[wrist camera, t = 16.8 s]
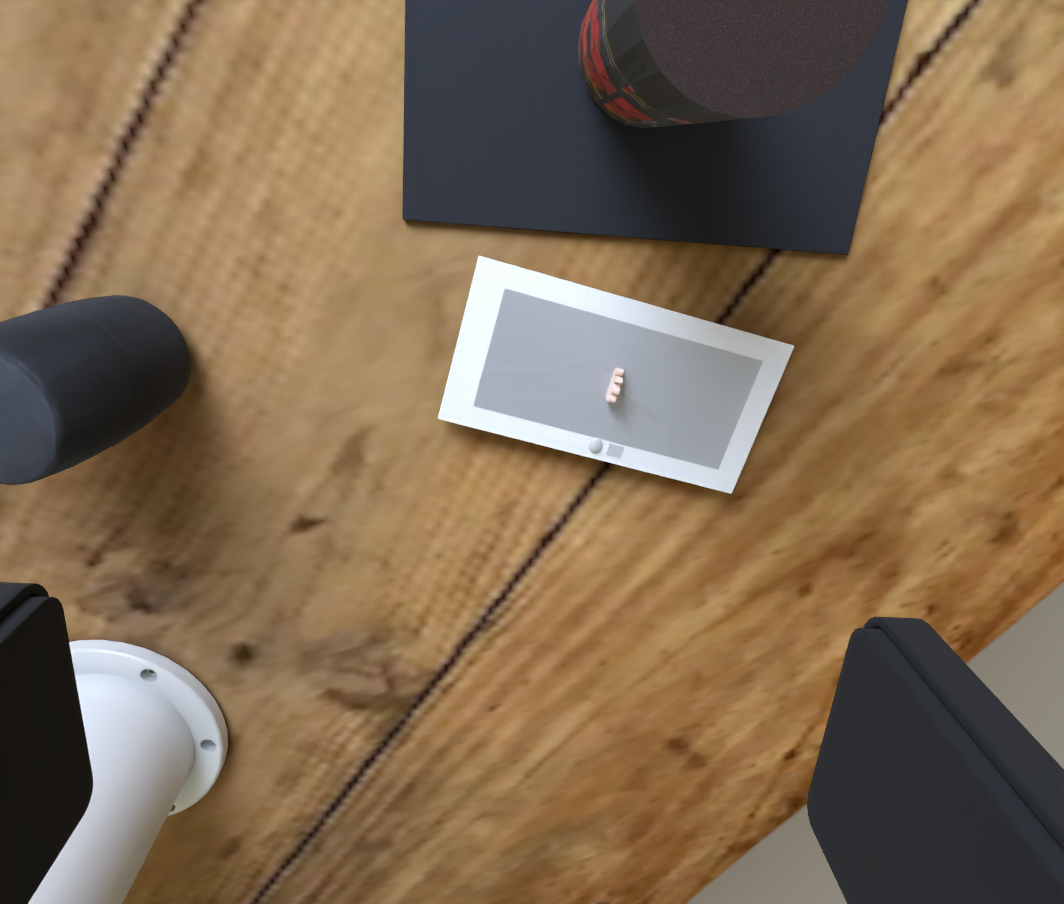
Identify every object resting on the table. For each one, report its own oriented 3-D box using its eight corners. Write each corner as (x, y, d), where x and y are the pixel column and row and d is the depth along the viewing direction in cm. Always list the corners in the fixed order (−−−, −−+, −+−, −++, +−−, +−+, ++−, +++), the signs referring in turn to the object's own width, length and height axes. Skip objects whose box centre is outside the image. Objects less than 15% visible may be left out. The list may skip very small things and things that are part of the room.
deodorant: (608, -62, 29) (696, -247, 15) (748, -4, 30) (951, -129, 16) (558, 99, 31) (593, 65, 17) (689, 148, 32) (823, 154, 18)
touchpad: (479, 252, 34) (477, 259, 32) (786, 339, 36) (802, 351, 34) (439, 411, 36) (435, 426, 34) (725, 484, 38) (737, 503, 36)
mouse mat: (403, 218, 33) (402, 219, 33) (408, -209, 27) (407, -213, 27) (845, 253, 34) (848, 254, 34) (939, -151, 28) (943, -155, 28)
